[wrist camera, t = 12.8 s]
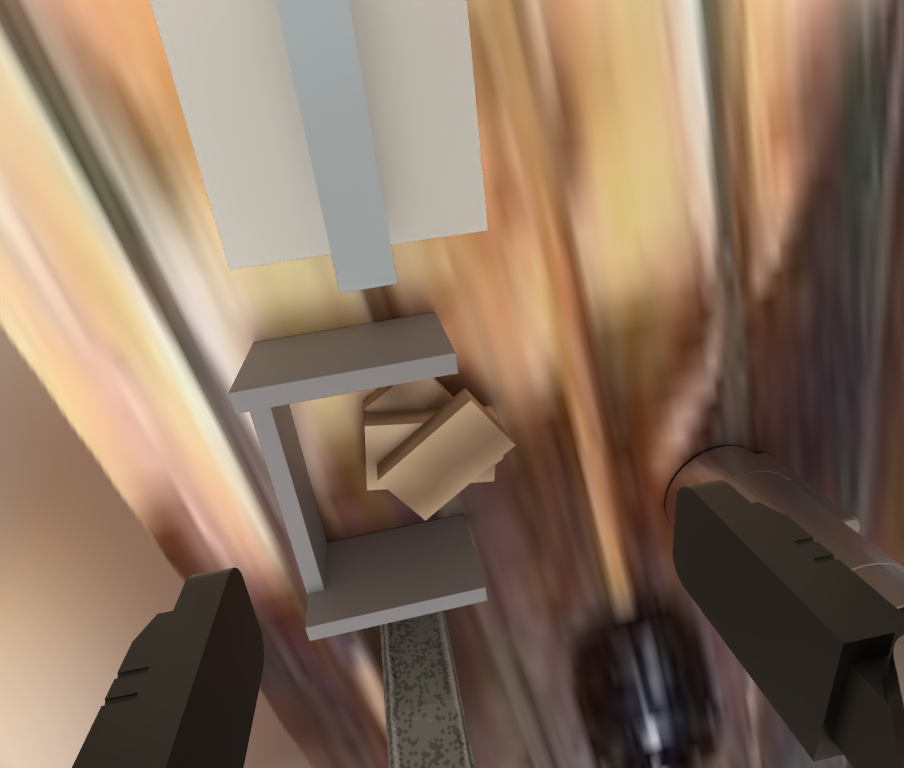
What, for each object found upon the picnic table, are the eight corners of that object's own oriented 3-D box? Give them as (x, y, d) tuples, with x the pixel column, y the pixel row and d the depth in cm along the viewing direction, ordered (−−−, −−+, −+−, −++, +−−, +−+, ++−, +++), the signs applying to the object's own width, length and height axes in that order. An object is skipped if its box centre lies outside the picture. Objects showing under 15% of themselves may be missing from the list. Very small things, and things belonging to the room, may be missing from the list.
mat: (460, -39, 29) (462, -42, 28) (485, 228, 35) (487, 230, 34) (150, -8, 27) (146, -11, 27) (231, 268, 33) (229, 270, 33)
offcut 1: (417, 353, 38) (420, 364, 36) (497, 444, 42) (503, 458, 41) (363, 396, 39) (363, 409, 37) (447, 482, 43) (451, 497, 41)
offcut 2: (363, 412, 37) (364, 426, 35) (491, 406, 39) (498, 419, 37) (366, 474, 39) (367, 490, 37) (487, 466, 41) (494, 481, 39)
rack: (434, 312, 36) (455, 353, 29) (464, 526, 44) (487, 600, 37) (251, 343, 35) (226, 393, 28) (315, 557, 43) (308, 641, 36)
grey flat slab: (336, -16, 28) (328, -119, 17) (381, 239, 33) (397, 283, 23) (290, -11, 28) (251, -112, 17) (343, 245, 33) (339, 293, 22)
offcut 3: (376, 464, 37) (377, 481, 35) (464, 387, 35) (470, 400, 34) (422, 503, 38) (425, 520, 37) (507, 430, 37) (515, 445, 35)
